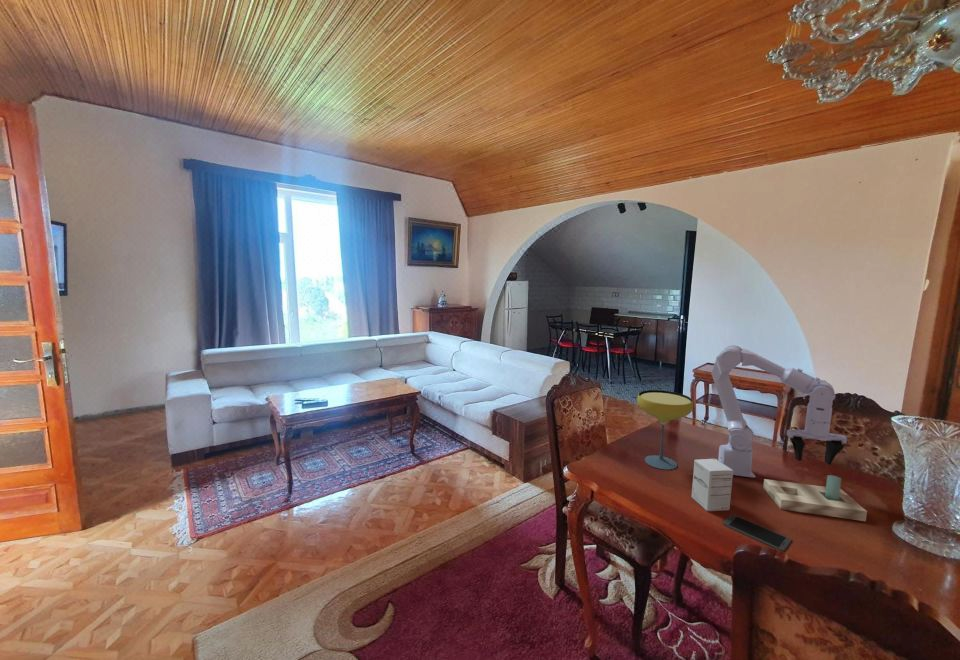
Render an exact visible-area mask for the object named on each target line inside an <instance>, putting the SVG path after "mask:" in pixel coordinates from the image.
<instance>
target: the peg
mask: <svg viewBox="0 0 960 660" xmlns="http://www.w3.org/2000/svg"><path fill="white" fill-rule="evenodd" d="M841 483H842V478H841V477H839V476H837V475H833V474H828V475H827V476H826V484H825V487H826V491H825V498H826V499H827V500H834V501H839V494H840V489H841V486H842V484H841Z"/></svg>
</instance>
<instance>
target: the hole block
mask: <svg viewBox="0 0 960 660" xmlns="http://www.w3.org/2000/svg"><path fill="white" fill-rule="evenodd" d="M762 488H763V489H764V490H765V492H766V493H767V494H768V496H769V497H770V498H771V499H772V501H774V504H776V505H777V507H778V508H779V509H780V510H785V511H791V512H798V513H805V514H812V515H813V514H814V515H819V516H827V517H833V518H841V519H846V520H854V521H860V522H866V521H867V515H868V510H866V509H865V508H864V507H863V506H861V505H860V504H859V503H858V502H857V501H856V500H854V499H853V498H852V497H851V496H850V495H849V494H848V493H846V492H845V491H844V490H843V489H841V488H840V494H839V501H834V500H827V499H826V498H825V491H826V486H821V485H816V484H815V485H814V484H806V483H797V482H792V481H791V482H789V481H782V480H775V479H768V478H767V479H766V478H764V479H763V487H762Z"/></svg>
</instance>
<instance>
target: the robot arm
mask: <svg viewBox="0 0 960 660" xmlns="http://www.w3.org/2000/svg"><path fill="white" fill-rule="evenodd" d="M740 363H742V364H741V367H749V366H753V367H756V368H758V369H760V370H763V371H764V372H767V373H769V374H772V375H773V376H776V377H778V378H779V379H780V381H781V383H782V384H784V385H785V386H788V387H789V388H792V389H793V390H795V391H798V392H799V393H802V394H805V395H809V400H808V401H809V402H808V403H807V407H806V408H807V409H806V416H805V425H804V429H787V430H786V436H787V437H788V438H789V439H790V442H791V445H792V447H793V449H794V455H795V456H794V457H795V459H796V460H797V461H798V462H801V461H802V459H803V452H804V447H805V445H806V442H805V441H804V439H805V440H806V439H808V440H816V441H817V440H818V441H825V442H824V443H825V454H824V462H825V463H826V464H827V465H830V466H831V465H832V463H833V461H834V459H835V457H836V456H837V455H838V454H839V453H840V452H841V451H842V450H843V449H844V448H845V446H844V444H847V442H848V441H847V440H848V437H847V436H846V435H843V434H837V433H831V432H830V429H831V428H830V427H831V422H832V414H833V407H832V406H833V401H834V400H835V399H836V394H835V390H834V389H835V388H834V387H833V385H832V384H830V382H828V381H826V380H823V379H821V378H819V377H813V376H811V375H809V374H807V373H806V372H803V369H802V368H799V367H798V368H794V367H790V368H785V367H783V366H781V365H778V364H777V363H775V362H773V361H771V360H769V359H767V358H765V357H763V356H761V355H759V354H757V353H755V352H753V351H751V350H749V349H746V348H742V347H741V346H739V345H734V344H733V345H729V346H727V347H725V348H724V349H723V350H722V351H721V352H720V353H719V354H718V355H717V356H716V359H715V362H714V364H713V366H712V369H711V372H710V373H711V377H712V379H713V382H714V383H713V384H714V385H715V388H716V391H717V394H718V398H719V401H720V402H721V403H720V404H721V405H722V409H723V412H724V415H725V418H726V421H727V429H728V433H729V436H728V442H727V444H720V445H719V447H718V459H717V460H718V461H720V462H721V463H723V464H724V465H726V466H727V467H729V468H730V469H732V470H733V476H736V477H737V476H738V477H746V478H752V479H753V478H756V476H757V475H755V474H754V472H753V471H752V463H753V455H754V453H753V451H754V447H753V446H752V440H753V438H754V432H753V430H752V429H751V428H750V427H749V425H748V424H747V421H746V420H745V418H744V415H743V413H742V410H741V407H740V403H739V402H738V398H737V395H736V393H735V389H734V387H733V384H732V381H731V378H730V375H729V374H730V373H731V371H733V369H734V368H736V367H738V366H739V365H740Z"/></svg>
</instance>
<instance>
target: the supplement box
mask: <svg viewBox="0 0 960 660" xmlns="http://www.w3.org/2000/svg"><path fill="white" fill-rule="evenodd" d="M692 474H693V477H692V486H691V487H692V488H691V499H693V501H695V502H697V503H698V504H699V505H700V506H701V507H702V508H703V509H704V510H705V511H706V512H717V511H718V512H719V511H730V508H731V507H730V506H731V497H732V496H731V495H732V490H733V489H732V487H733V477H734V475H733V470H732V469H730V468H729V467H727V466H726V465H724V464H723V463H721V462H720V461H718V459H717V458H706V459H705V458H702V459H701V458H700V459H694V462H693V473H692Z"/></svg>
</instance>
